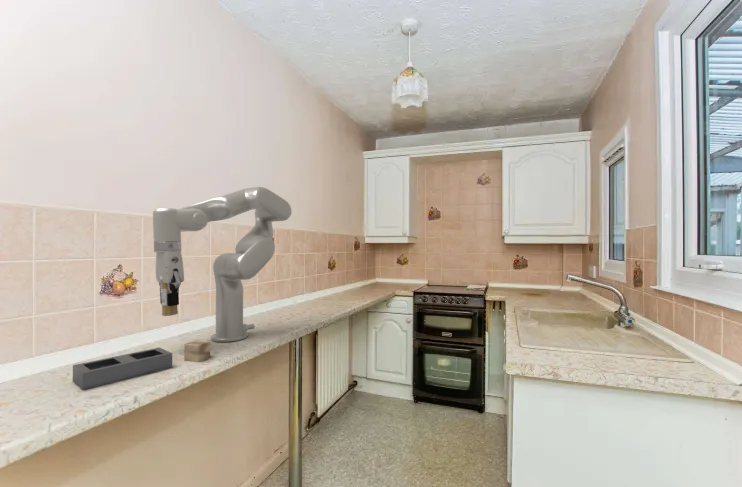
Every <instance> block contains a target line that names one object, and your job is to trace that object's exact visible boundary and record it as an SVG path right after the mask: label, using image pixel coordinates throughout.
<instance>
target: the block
mask: <svg viewBox="0 0 742 487" xmlns="http://www.w3.org/2000/svg"><path fill="white" fill-rule="evenodd" d="M183 345H184V346H183V348H184V349H183V350H184V352H183V353H184V354H183V355H184V356H183V357H184V358H183V360H184V362H192V363H199V362H202V361H206V360H207V359H209V358H211V341H210V340H200V339H197V340H194V341H190V342H188V343H185V344H183Z"/></svg>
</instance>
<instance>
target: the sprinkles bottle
mask: <svg viewBox="0 0 742 487" xmlns="http://www.w3.org/2000/svg"><path fill="white" fill-rule="evenodd" d="M160 279H162V277H161V276H160ZM170 283H174V281H171V282H170ZM171 287H172V285H171ZM167 293H168V286H167V284H166V283H163V280H161V300H162V304H161V316H164V317H168V316H170V317H171V316H174V315H175V316H176V315H178V314H179V312H178V305H174V306H168V305H167Z"/></svg>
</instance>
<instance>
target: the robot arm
mask: <svg viewBox="0 0 742 487" xmlns="http://www.w3.org/2000/svg"><path fill="white" fill-rule="evenodd" d="M251 210H254V217H255V218H254V219H255V221H254V222H255V223H254V226H253V227H252V228H251V229H250V230H249V231H248V232H247V233H246V234H245V235H244V236H243V237H242V238H241V239H239V241H238V242H237V243H236V245H235V248H234V249H235V250H234V252H226V253H222V254H220V255H218V256H217V257H216V258H215V260H214V261H213V265H212V267H213V268H212V269H213V275H214V276H213V277H214V282H215V333H214V334H212V335H211V336H210V340H211V341H213V342H215V343H229V342H237V341H241V340H245V339H247V337H248V332H247V331H248V330H254V329H255V327H256V326H255V324H254V323H250V324H247V323H246V324H245V323H244V287H243V286H244V285H243V282H242V280H243V281H244V280H245V281H247V280H250V279H252V278H254V277H255V276H256V275H258V274H259V272H260V271H261V270H262V269H263V268H264V267H265V266H266V265H267V263H269V261H271V259H272V258H273V256H274V254H275V250H276V246H275V245H276V244H275V241H274V240H273V236H274V229H273V222H284V221H286V220H289V219H290V217H291V215H292V212H293V210H292V207H291V205H290V203H289V202H288V201H287V200H286V199H284V198H283V197H281V196H280V195H278V194H276V193H275V192H273V191H271V190H270V189H269V188H266V187H263V186H256V187H247V188H243V189H240V190H236V191H233V192H231V193H230V192H229V193H227V194H224V195H220V196H217V197H213V198H211V199H208V200H205V201H200V202H197V203H193V204H190V205H187V206H183V207H181V208H174V207H173V208H172V207H158V208H155V209H154V210H153V211H152V228H153V230H152V232H153V253H155V279H156V281H157V283H158V285H159V292H160V293H159V294H160V295H159V296H160V297H159V299H160V305H162V300H161V280H163V283H166V284H167V286H168V293H167V305H168V306H174V305H177V306H178V305H179V304H180V298H179V297H180V295H179V294H180V286H181V285H182V283H183V282H184V281H185V272H184V262H183V257H182V256H183V255H182V233H181V232H198V231H201V230H203V229H205V228H206V226H207V225H208V223H210V222H217V221H223V220H224V221H225V220H229V219H231V218H233V217H236V216H239V215H241V214H244V213H247V212H249V211H251ZM160 276H161V277H162V279H160ZM171 281H174V283H170V282H171ZM171 285H172V287H171Z"/></svg>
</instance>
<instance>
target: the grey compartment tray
mask: <svg viewBox="0 0 742 487" xmlns="http://www.w3.org/2000/svg"><path fill="white" fill-rule="evenodd" d="M171 368H173V352H170V351H169V350H166V349H163V348H162V347H155V348H150V349H145V350H140V351H136V352H131V353H126V354H122V355H115V356H112V357H107V358H103V359H102V358H101V359H97V360H93V361H92V360H91V361H88V362H82V363H77V364H72V382H73V383H74V384H75V385H76V386H77V387H79V389H80V390H81V391H85V390H88V389H92V388H96V387H100V386H104V385H109V384H113V383H117V382H120V381H124V380H129V379H131V378H132V379H133V378H136V377H139V376H144V375H147V374H148V375H149V374H152V373H156V372H160V371H163V370H167V369H171Z"/></svg>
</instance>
